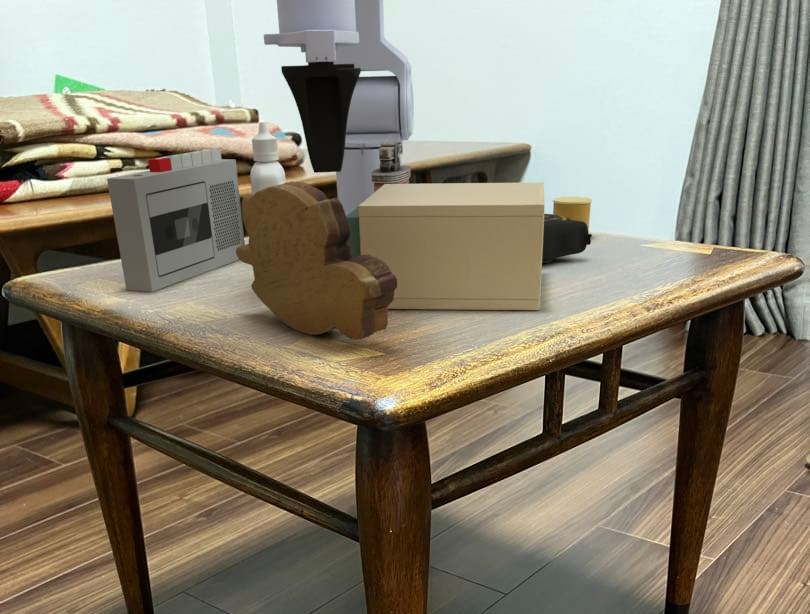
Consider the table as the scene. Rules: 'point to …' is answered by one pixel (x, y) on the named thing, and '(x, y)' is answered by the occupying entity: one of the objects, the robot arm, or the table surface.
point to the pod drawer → (354, 233)
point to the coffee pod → (573, 208)
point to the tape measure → (563, 237)
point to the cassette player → (177, 218)
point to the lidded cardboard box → (458, 243)
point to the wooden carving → (312, 263)
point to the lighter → (390, 166)
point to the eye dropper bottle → (265, 161)
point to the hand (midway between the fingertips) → (326, 166)
